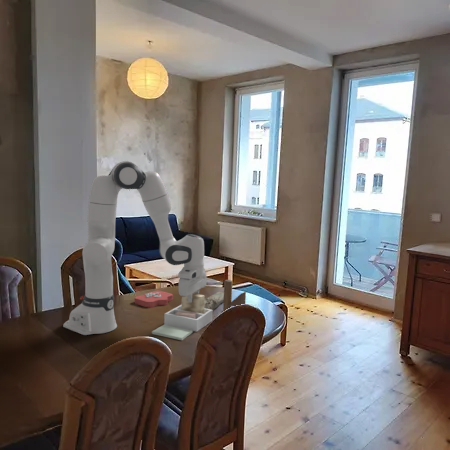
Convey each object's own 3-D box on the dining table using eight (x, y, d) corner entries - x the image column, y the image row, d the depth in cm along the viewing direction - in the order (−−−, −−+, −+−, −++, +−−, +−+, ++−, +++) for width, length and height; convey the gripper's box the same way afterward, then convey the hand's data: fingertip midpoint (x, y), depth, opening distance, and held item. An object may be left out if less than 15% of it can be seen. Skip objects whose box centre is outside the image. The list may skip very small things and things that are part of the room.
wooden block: (240, 324, 186) (241, 284, 183) (221, 318, 192) (222, 280, 190) (244, 321, 189) (246, 283, 186) (225, 316, 195) (227, 279, 193)
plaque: (154, 302, 201) (132, 296, 210) (153, 310, 202) (132, 303, 210) (178, 294, 216) (157, 288, 224) (178, 301, 216) (157, 295, 225)
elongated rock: (233, 299, 227) (216, 297, 230) (233, 289, 226) (216, 288, 230) (208, 316, 194) (189, 313, 197) (208, 304, 194) (189, 302, 197)
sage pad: (152, 333, 171) (152, 331, 171) (163, 326, 180) (163, 324, 179) (181, 340, 166) (181, 337, 166) (192, 332, 174) (192, 330, 174)
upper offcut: (175, 320, 180) (175, 313, 180) (178, 317, 184) (178, 310, 184) (193, 322, 179) (193, 315, 179) (195, 318, 183) (196, 312, 183)
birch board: (181, 319, 189) (181, 293, 188) (184, 317, 192) (185, 292, 190) (200, 323, 185) (201, 297, 184) (203, 321, 188) (204, 295, 186)
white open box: (164, 324, 182) (164, 313, 181) (181, 314, 195) (181, 304, 195) (196, 331, 175) (197, 320, 175) (212, 320, 189) (212, 309, 188)
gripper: (198, 265, 196) (197, 293, 198) (176, 274, 178) (175, 305, 180) (210, 267, 194) (209, 295, 196) (189, 276, 175) (188, 308, 177)
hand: (193, 300), depth 187 cm, fingers closed on birch board, 3 cm apart
